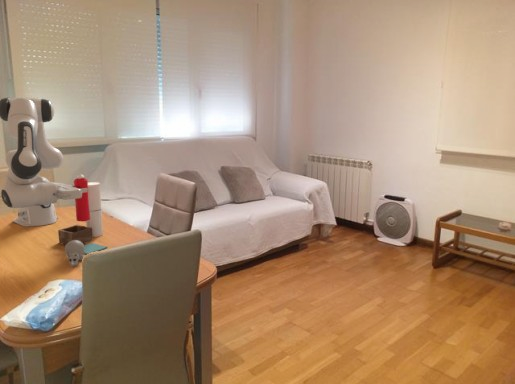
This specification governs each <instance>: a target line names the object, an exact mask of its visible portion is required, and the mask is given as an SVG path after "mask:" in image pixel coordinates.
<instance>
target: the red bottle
mask: <svg viewBox="0 0 515 384" xmlns="http://www.w3.org/2000/svg"><path fill="white" fill-rule="evenodd" d="M88 183H89V182H88V179H87V178H86V177H85V175H84V174H82V173H79V174H78V175H76V179H74V180H73V186H74V187H76V188H79V189H81V188H87V189H88ZM74 202H75V203H74V204H75V217H76V219H75V220H76V222H86V221H88V220H90V208H89V194H88V192H84V193H82V197H81V198H77V199H74Z"/></svg>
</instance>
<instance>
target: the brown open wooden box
mask: <svg viewBox="0 0 515 384" xmlns="http://www.w3.org/2000/svg"><path fill="white" fill-rule="evenodd" d="M57 232H58V243H59V244H62V245H65V246H66V244H67V243H68V242H70V241H72V240H78V241H80V242H82V243H83V245H85V244H86V243H87V244H88V243H91V242H92V241H94V237H93V235H92V228H90V227H86V226H85V225H80V224H74V225H71V226H68V227H64V228H62V229H58V230H57Z"/></svg>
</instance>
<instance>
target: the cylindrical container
mask: <svg viewBox="0 0 515 384" xmlns="http://www.w3.org/2000/svg"><path fill="white" fill-rule="evenodd" d="M88 194H89V208H90V220H88V221H85V223H86V226H85V227H90V228H92V235H93V238H95V237H101V236H102V235H104V229H103V214H102V213H103V212H102V198H101V196H102V195H101V183H100V182H95V181H93V182H92V181H91V182H90V181H89V182H88Z"/></svg>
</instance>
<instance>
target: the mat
mask: <svg viewBox="0 0 515 384" xmlns="http://www.w3.org/2000/svg"><path fill="white" fill-rule="evenodd" d="M83 245H84V247H85V250H84V251H85V254H84V255H86V256H88V255H87V254H89V253H91V252H95V251H98V252H100V251H99V250H101V251H103V250H106V249H108V246H106V245H101V244H98V243H93V242H88V243H87V244H83Z"/></svg>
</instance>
